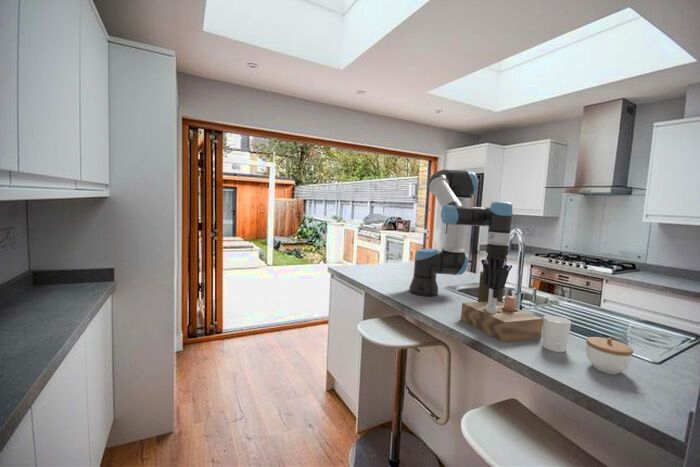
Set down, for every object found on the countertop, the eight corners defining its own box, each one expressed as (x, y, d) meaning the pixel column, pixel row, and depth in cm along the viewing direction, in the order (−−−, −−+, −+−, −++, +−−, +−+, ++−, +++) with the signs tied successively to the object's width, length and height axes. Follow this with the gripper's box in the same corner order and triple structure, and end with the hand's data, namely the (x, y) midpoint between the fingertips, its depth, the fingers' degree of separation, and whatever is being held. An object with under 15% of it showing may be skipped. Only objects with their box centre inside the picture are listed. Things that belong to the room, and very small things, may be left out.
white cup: (540, 341, 114) (543, 313, 114) (567, 347, 110) (570, 318, 109) (540, 348, 108) (543, 319, 107) (568, 355, 104) (572, 325, 103)
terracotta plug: (501, 310, 127) (502, 295, 127) (509, 310, 129) (510, 295, 128) (509, 314, 123) (511, 298, 123) (517, 313, 125) (518, 298, 124)
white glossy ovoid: (482, 319, 124) (483, 304, 124) (490, 319, 126) (491, 304, 125) (490, 323, 121) (491, 308, 120) (498, 322, 122) (499, 307, 122)
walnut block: (460, 319, 132) (462, 302, 132) (495, 316, 138) (496, 300, 138) (503, 341, 112) (505, 322, 111) (541, 337, 118) (543, 318, 117)
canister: (505, 315, 140) (510, 270, 139) (481, 314, 141) (486, 269, 139) (495, 308, 151) (499, 265, 150) (472, 306, 151) (476, 264, 150)
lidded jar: (580, 367, 96) (583, 337, 95) (587, 357, 103) (590, 328, 102) (627, 383, 88) (632, 350, 87) (631, 370, 96) (635, 340, 95)
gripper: (477, 241, 125) (472, 301, 127) (503, 245, 113) (497, 311, 115) (492, 241, 128) (487, 300, 130) (520, 246, 116) (513, 310, 118)
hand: (492, 305), depth 123 cm, fingers closed
